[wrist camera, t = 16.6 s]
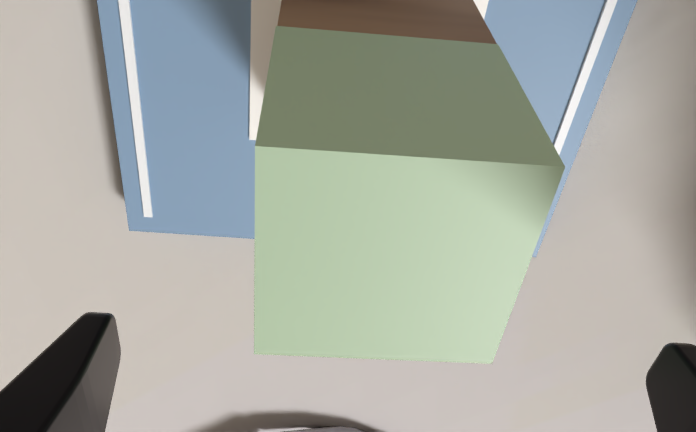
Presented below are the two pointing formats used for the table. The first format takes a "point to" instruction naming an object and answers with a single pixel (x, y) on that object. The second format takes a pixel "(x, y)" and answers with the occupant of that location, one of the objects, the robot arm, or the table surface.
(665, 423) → the robot arm
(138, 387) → the table surface
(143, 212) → the board
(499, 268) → the green block
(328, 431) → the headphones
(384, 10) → the walnut block
